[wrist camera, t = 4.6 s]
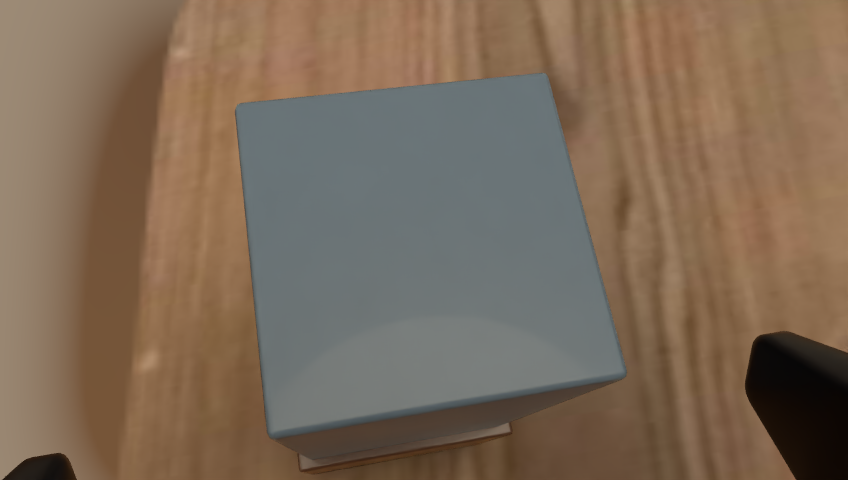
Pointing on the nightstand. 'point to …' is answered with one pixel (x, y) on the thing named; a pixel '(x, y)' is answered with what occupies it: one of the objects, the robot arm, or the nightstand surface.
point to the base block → (402, 450)
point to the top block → (418, 263)
